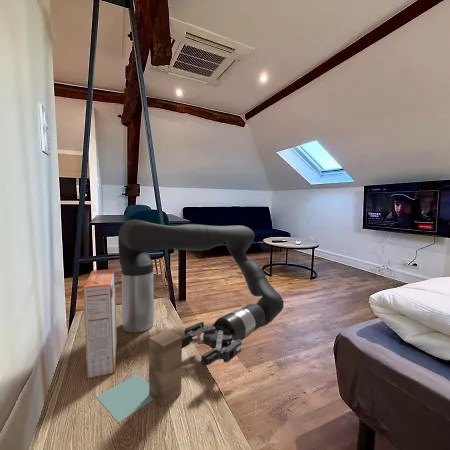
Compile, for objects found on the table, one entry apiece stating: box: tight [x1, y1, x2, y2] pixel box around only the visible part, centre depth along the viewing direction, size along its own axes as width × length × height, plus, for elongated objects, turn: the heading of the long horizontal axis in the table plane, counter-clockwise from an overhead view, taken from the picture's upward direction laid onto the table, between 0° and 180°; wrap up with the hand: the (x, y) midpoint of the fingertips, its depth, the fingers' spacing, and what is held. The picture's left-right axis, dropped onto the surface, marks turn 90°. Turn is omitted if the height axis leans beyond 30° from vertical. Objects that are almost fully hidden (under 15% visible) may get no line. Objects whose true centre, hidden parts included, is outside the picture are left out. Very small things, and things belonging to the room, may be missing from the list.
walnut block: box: [148, 329, 183, 407], centre depth 51 cm, size 4×4×12 cm
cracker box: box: [82, 268, 118, 380], centre depth 62 cm, size 14×6×21 cm, turn 21°
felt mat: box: [96, 373, 155, 424], centre depth 51 cm, size 9×9×1 cm
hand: (188, 353), depth 56 cm, fingers open, 8 cm apart
